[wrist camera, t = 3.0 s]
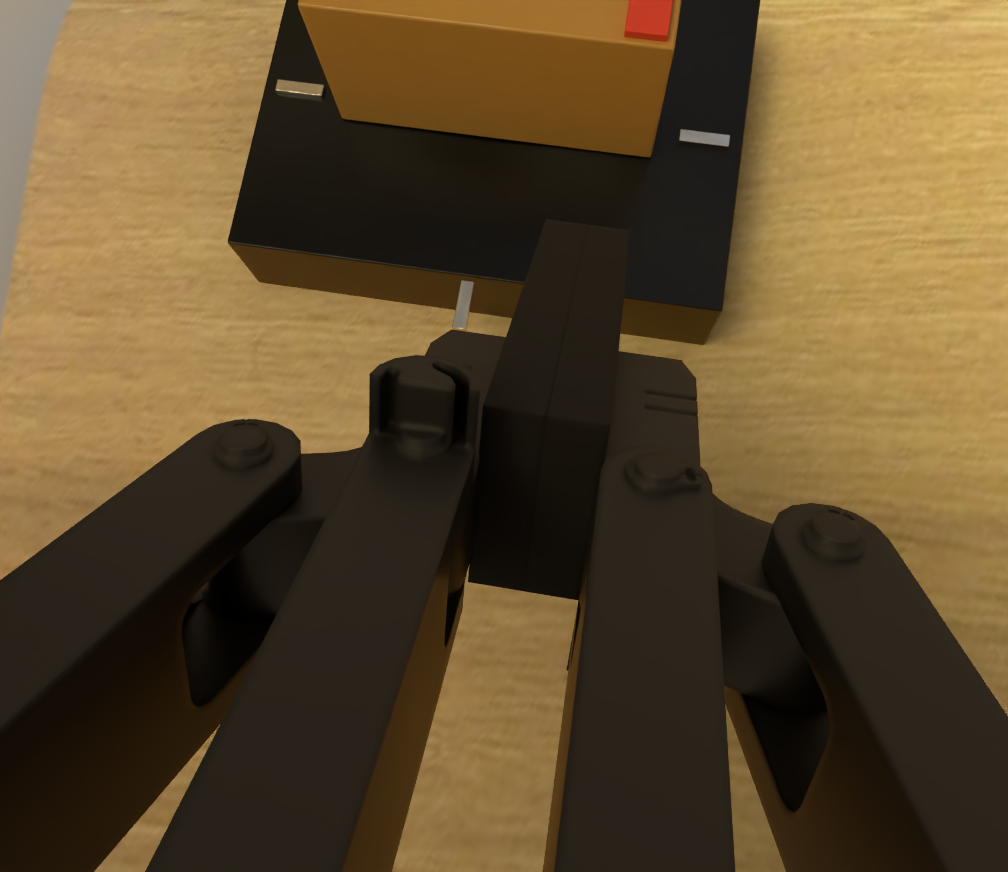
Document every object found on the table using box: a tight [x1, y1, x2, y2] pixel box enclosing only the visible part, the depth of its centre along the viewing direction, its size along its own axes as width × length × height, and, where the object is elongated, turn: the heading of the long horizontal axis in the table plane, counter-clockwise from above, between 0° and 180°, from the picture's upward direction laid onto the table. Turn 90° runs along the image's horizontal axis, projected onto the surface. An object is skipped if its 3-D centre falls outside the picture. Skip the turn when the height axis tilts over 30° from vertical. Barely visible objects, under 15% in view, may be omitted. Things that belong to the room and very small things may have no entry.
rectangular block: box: [298, 0, 681, 157], centre depth 24 cm, size 9×2×5 cm, turn 81°
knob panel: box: [228, 0, 760, 345], centre depth 28 cm, size 14×13×3 cm
